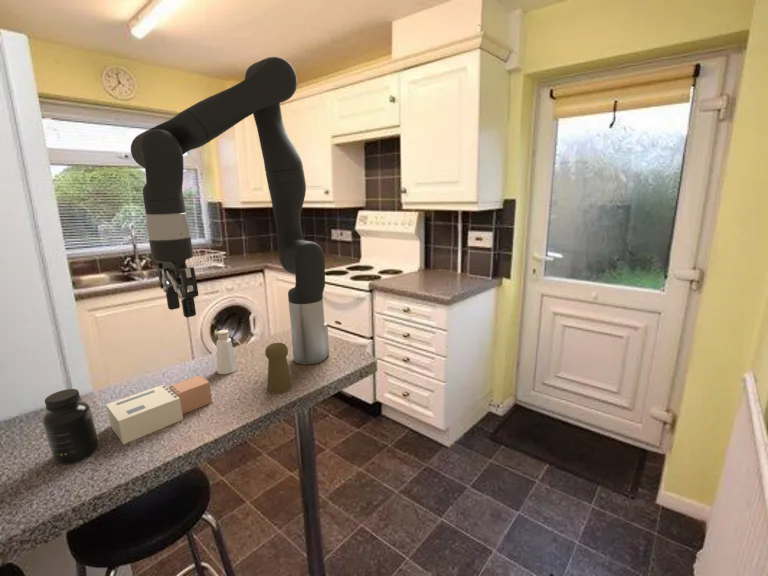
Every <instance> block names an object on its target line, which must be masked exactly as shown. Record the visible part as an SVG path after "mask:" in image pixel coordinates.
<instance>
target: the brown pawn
mask: <svg viewBox="0 0 768 576" xmlns="http://www.w3.org/2000/svg"><path fill="white" fill-rule="evenodd" d="M264 353H265V354H264V355H265V357H266V358H267V360H268V361H267V362H268V363H267V389H266V390H267V391H268V392H269V393H271V394H282V393H285V392H287V391H289V390H291V389H292V388H293V387H294V385H293V381H292V376H291V372H290V371H291V370H290V368H289V364H288V359H287V356H288V354H289V349H288V346H287V345H286V343H282V342H273V343H271V344H268V345H267V346H266V348H265V352H264Z"/></svg>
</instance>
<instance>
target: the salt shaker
mask: <svg viewBox="0 0 768 576" xmlns="http://www.w3.org/2000/svg"><path fill="white" fill-rule="evenodd" d="M216 335H217V340H216V345H215V346H216V371H217V374H220V375H228V374H233V373H234V372H236V371H238V370H239V368H238V363H237V359H236V355H235V351H234V348H233V343H232V339H231V338H230V337H229V330H228V329H221V330H218V331H217V332H216Z"/></svg>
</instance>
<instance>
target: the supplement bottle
mask: <svg viewBox="0 0 768 576" xmlns="http://www.w3.org/2000/svg"><path fill="white" fill-rule="evenodd" d="M44 404H45V410H46V413H45V414H44V415H43V418H42V425H43V428H44V433H45V435H46V438H47V442H48V445H49V449H50V452H51V455H52V459H53V460H54V462H55V463H56V464H60V465H69V464H74V463H77V462H80V461H82V460H84V459H86V458H88V457H90V456H91V455H92V454H93V453H95V452H96V451H97V449H98V447H99V445H100V441H99V437H98V433H97V429H96V426H95V422H94V418H93V413H92V410H91V406H90V405H89V403H86V402H85V401H82V397H81V396H80V392H79V390H78V389H77V388H67V389H63V390H59V391H56V392H54V393H51V394H50V395H48V396H47V397H46V398H45V399H44Z"/></svg>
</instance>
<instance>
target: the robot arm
mask: <svg viewBox="0 0 768 576" xmlns="http://www.w3.org/2000/svg"><path fill="white" fill-rule="evenodd" d="M297 88H298V76H297V74H296V71H295V68H294V67H293V66H292V64H291V63H290V62H289V61H288V60H286V59H284V58H283V57H279V56H270V57H266V58H264V59H263V58H262V60H261V59H260V60H259V61H257V62H254V63H252V64H251V65H249V66H248V68H247V69H246V71H245V74H244V79H243V80H242V81H240V82H239V83H236V84H235V85H233V86H231V87H229V88H227V89H224V90H222V91H220V92H218V93H216V94H215V93H214V94H213V95H210V96H208V97H206V98H204V99H202V100H200V101H198V102H196V103H194V104H193V105H191V106H189V107H187V108H185V109H183V110H182V111H179V113H178V114H176V115H175V116H173V117H172V118H170V119H168V120H167V121H165V122H162V123H160V124H157V125H156V126H154V127H151V128H150V129H147V130H145V131H143V132H142V133H139V134H138V135H136V136H135V137H134V138H133V139H132V142H131V145H130V154H131V156H132V158H133V160H134V162H135V163H136V164H138V166H140V167H141V168H144V170H145V184H144V186H143V187H142V199H143V204H144V210H145V214H146V217H145V219H146V231H147V235H148V236H147V237H148V242H149V249H150V253H151V259H152V261H154V262H155V263H156V269H157V275H158V282H159V287H160V289H161V290H163V293H165V296H166V303H167V308H168V310H171V311H174V310H178V309H180V307H182V313H183V314H182V315H183V317H185V318H187V319H188V318H191V317H195V316H196V314H197V312H196V311H197V310H196V306H195V305H196V302H195V298H196V297H198V296H199V289H198V284H197V276H196V271H195V268H194V266H189V267H188V266H187V262H186V261H187V260H190V259H192V258H193V257H194V251H193V244H192V237H191V231H190V230H191V229H190V225H189V220H188V216H187V211H186V206H185V200H184V199H185V198H184V193H183V183H184V156H183V155H184V154H186V153H189V152H190V151H192V150H195V149H199V148H201V147H203V146H204V145H206V144H208V143H210V142H212V140H215V139H216V138H217V137H219V136H221V135H222V134H224V133H225V132H226V131H228V130H230V129H231V128H233V127H234V126H236V125H237V124H238V123H240V122H241V121H243V120H244V119H246V118H247V117H250V116H251V115H252V116H253V118H254V122H255V125H256V130H257V134H258V139H259V144H260V149H261V154H262V159H263V164H264V165H263V167H264V171H265V176H266V181H267V186H268V191H269V195H270V200H271V206H272V211H273V217H274V218H273V219H274V223H275V230H276V239H277V240H276V241H277V252H278V259H279V263H280V265H281V267H282V268H283V269H284V270H285V271H286V272H288V273H290V274H294V275H295V285H294V287H291V288H290V289H289V290H288V292H287V298H288V309H289V310H288V311H289V323H290V333H291V344H292V356H293V362H294V363H296V364H300V365H315V364H319V363H321V362H323V361H324V360H325V359H326V358H327V357H329V356H330V344H329V343H330V342H329V341H330V340H329V329H328V326H329V325H328V323H326V322H325V313H324V312H325V311H324V297H323V296H324V291H325V286H326V265H325V264H326V262H325V261H326V260H325V255H324V254H325V253H324V251H323V249H322V247H321V246H320V244H318V243H317V242H314V241H310V240H304V235H303V230H302V225H301V224H302V223H301V215H302V211H303V206H304V203H305V202H304V201H305V198H306V191H307V188H306V187H307V185H306V178H305V171H304V167H303V166H304V165H303V161H302V159H301V155H300V154H299V152H298V150H297V148H296V147H295V145H294V143H293V141H292V140H291V138H290V137H289V134H288V133H287V131H286V127H285V124H284V120H283V113H282V109H281V103H284V102H286V101H288V100H290V99H291V98H292V97H293V96H294V94H295V93H296V91H297ZM179 297H180V299H181V304H180V299H179Z"/></svg>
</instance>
